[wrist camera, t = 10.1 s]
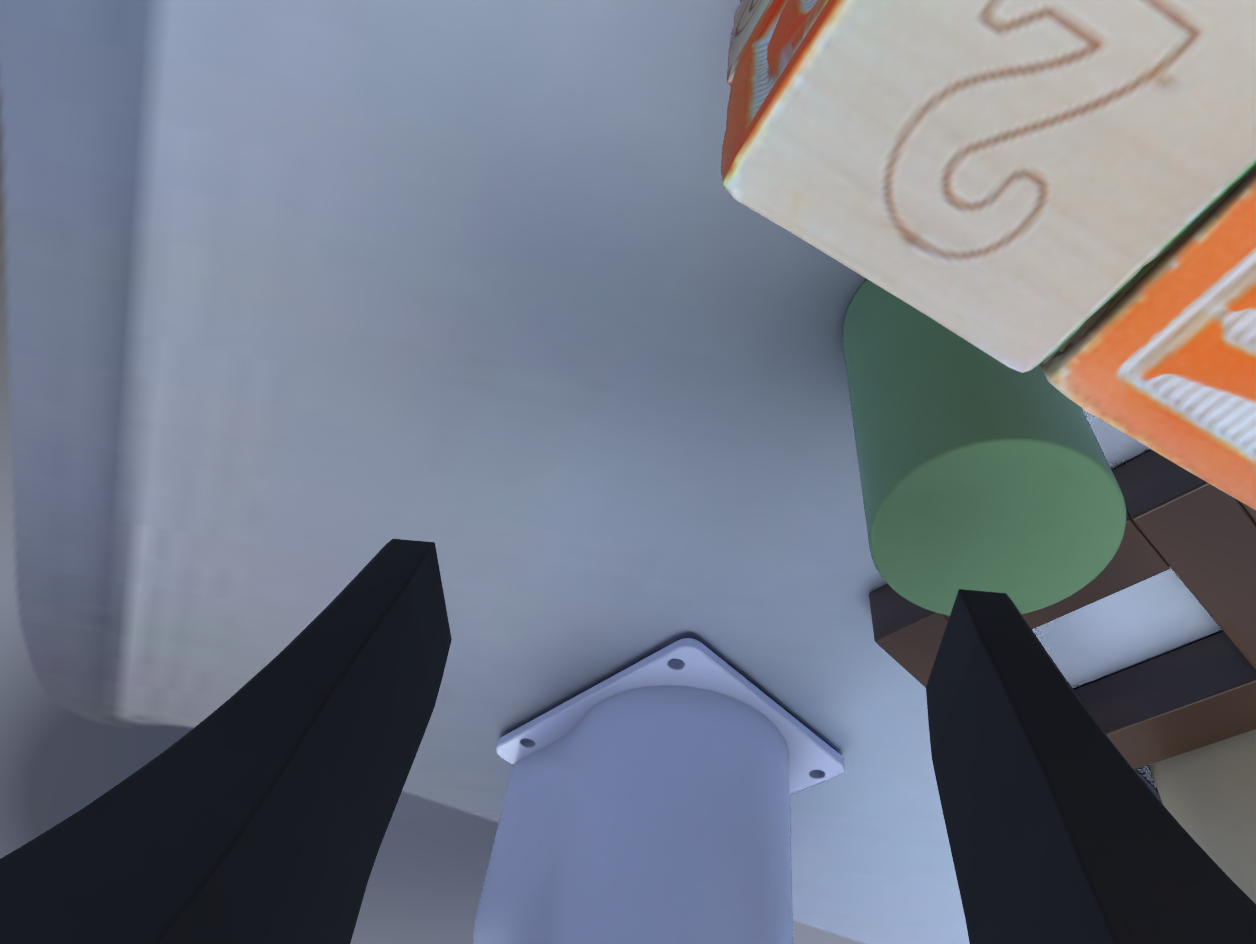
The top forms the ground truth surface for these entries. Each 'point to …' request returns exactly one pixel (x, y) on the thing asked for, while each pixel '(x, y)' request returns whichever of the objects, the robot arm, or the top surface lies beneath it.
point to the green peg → (971, 466)
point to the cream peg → (1216, 802)
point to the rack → (1152, 543)
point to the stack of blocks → (1031, 188)
